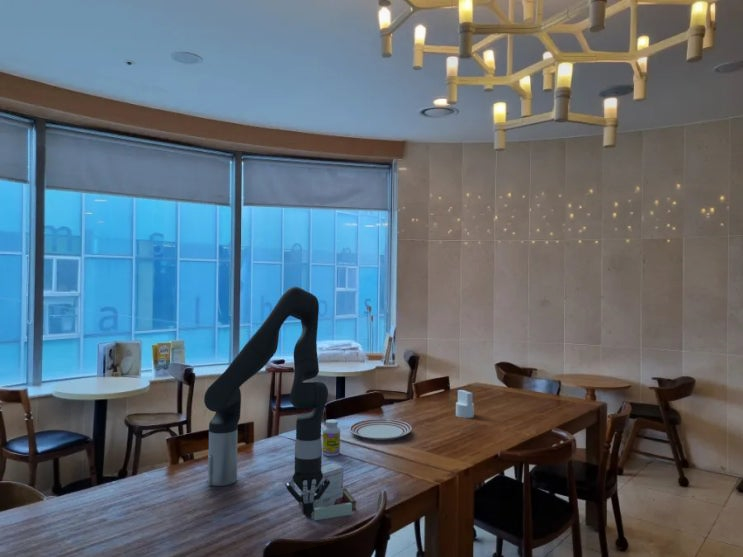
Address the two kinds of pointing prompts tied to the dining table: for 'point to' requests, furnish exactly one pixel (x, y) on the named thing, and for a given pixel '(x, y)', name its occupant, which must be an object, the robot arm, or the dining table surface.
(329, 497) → the ink box
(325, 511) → the pale green bar
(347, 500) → the rack bay
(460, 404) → the base with upright slab
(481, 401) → the dining table surface
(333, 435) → the supplement bottle
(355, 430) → the dinner plate
